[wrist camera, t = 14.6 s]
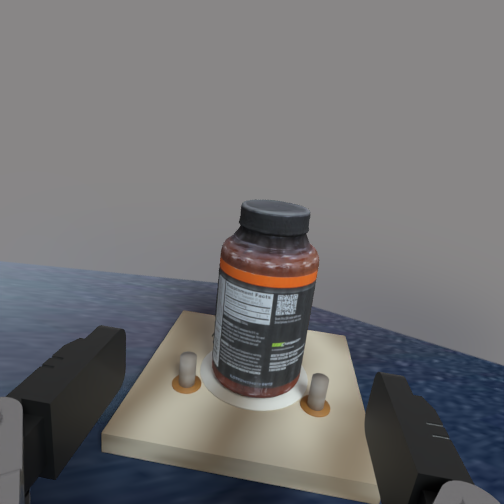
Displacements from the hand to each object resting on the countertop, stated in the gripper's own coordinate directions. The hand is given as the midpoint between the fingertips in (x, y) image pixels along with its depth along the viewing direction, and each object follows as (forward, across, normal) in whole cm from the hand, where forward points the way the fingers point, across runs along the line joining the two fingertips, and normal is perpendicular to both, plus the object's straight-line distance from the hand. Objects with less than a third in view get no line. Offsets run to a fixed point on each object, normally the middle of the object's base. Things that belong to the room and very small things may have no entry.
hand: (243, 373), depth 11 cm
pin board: (+11, 0, +9) cm, 14 cm away
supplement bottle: (+11, 0, +8) cm, 13 cm away
